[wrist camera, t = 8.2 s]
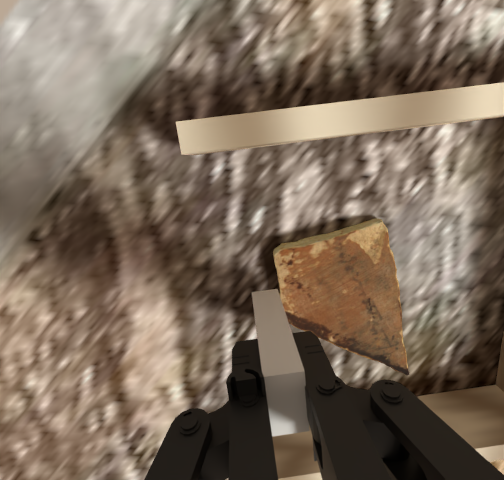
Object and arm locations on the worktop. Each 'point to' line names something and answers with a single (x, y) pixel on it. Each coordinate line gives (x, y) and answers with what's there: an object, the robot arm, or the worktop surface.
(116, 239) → the worktop surface
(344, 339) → the shard
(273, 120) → the box
